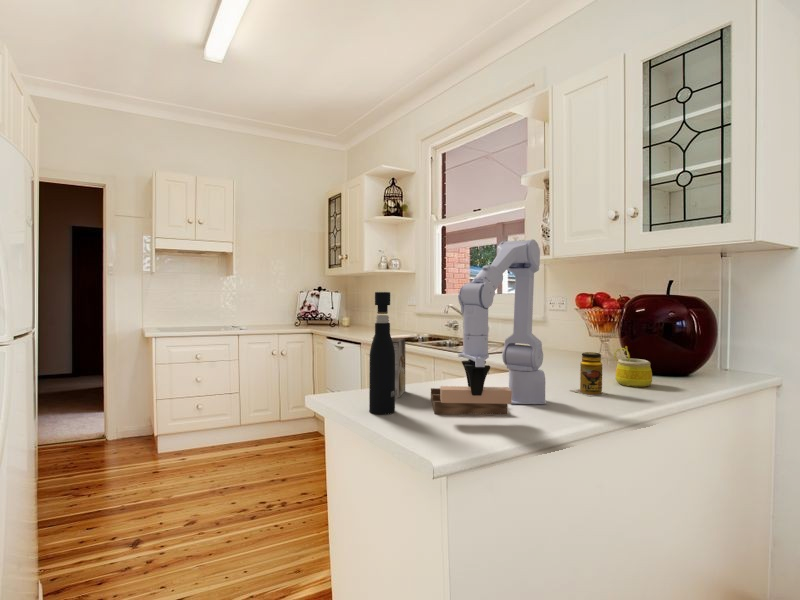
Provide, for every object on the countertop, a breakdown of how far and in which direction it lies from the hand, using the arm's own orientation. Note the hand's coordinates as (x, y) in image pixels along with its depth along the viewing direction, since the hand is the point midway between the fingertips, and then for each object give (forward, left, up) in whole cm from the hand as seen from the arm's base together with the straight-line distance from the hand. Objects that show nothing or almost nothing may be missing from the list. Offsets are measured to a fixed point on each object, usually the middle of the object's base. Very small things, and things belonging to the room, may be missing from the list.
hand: (475, 393), depth 112 cm
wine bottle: (+22, -8, -7) cm, 25 cm away
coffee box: (+20, -28, -7) cm, 35 cm away
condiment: (-39, -32, -7) cm, 51 cm away
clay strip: (0, 0, -2) cm, 2 cm away
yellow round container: (-58, -45, -7) cm, 74 cm away
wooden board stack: (0, -14, -7) cm, 16 cm away
